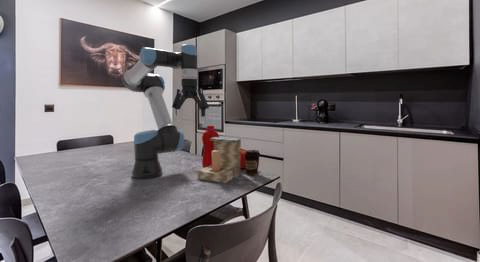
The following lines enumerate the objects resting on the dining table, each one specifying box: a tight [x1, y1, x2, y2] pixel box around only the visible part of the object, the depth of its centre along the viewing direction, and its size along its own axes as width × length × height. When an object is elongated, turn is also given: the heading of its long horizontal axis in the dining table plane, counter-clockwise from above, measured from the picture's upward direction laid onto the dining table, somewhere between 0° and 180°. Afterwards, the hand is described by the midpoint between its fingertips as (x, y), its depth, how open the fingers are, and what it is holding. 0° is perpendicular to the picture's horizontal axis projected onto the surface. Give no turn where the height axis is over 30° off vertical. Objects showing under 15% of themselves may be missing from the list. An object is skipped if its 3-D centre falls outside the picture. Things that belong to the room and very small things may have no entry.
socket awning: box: [197, 136, 242, 184], centre depth 123 cm, size 16×17×19 cm
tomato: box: [241, 149, 247, 169], centre depth 140 cm, size 14×13×10 cm
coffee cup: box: [245, 149, 261, 176], centre depth 126 cm, size 9×8×13 cm
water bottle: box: [201, 124, 220, 168], centre depth 142 cm, size 9×11×25 cm
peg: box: [212, 150, 220, 172], centre depth 120 cm, size 4×4×14 cm
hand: (190, 122), depth 115 cm, fingers open, 13 cm apart
